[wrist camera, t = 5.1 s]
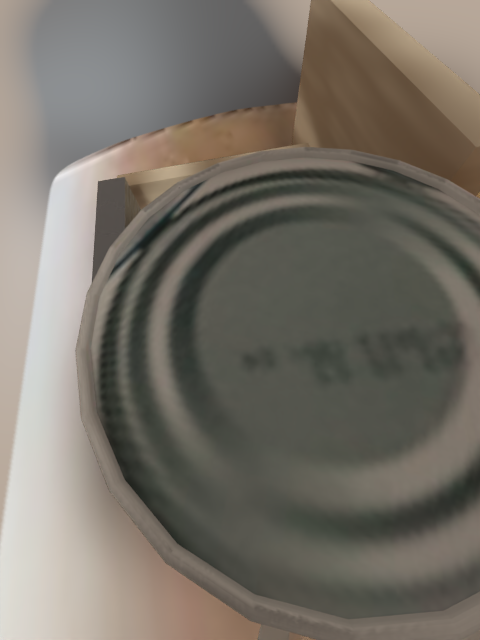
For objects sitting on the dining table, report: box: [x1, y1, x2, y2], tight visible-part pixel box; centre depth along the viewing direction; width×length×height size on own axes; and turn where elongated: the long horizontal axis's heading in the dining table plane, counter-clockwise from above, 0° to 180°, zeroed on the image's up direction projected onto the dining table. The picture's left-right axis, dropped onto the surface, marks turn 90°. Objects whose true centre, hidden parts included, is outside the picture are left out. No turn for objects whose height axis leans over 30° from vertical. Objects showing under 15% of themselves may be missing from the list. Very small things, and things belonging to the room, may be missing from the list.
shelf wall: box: [117, 0, 480, 210], centre depth 15 cm, size 14×14×11 cm
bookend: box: [92, 177, 141, 282], centre depth 15 cm, size 1×8×7 cm, turn 11°
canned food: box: [76, 147, 480, 640], centre depth 9 cm, size 8×8×12 cm
